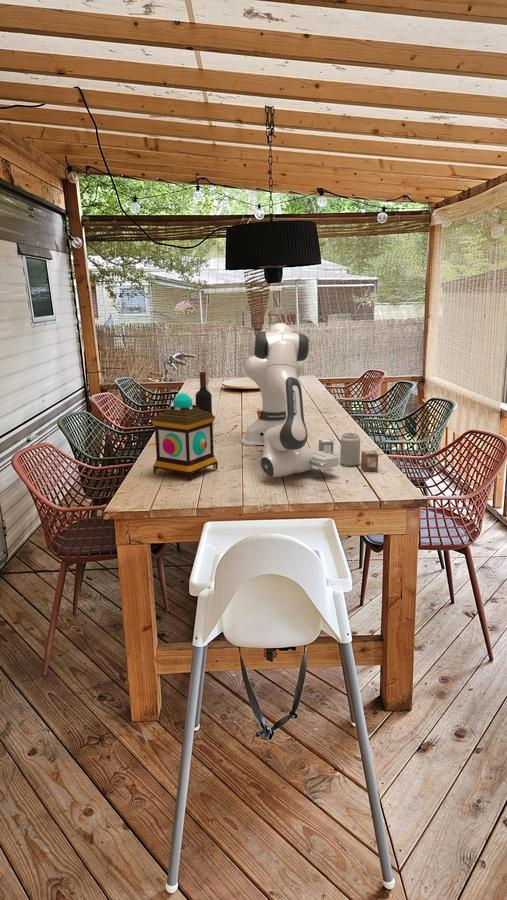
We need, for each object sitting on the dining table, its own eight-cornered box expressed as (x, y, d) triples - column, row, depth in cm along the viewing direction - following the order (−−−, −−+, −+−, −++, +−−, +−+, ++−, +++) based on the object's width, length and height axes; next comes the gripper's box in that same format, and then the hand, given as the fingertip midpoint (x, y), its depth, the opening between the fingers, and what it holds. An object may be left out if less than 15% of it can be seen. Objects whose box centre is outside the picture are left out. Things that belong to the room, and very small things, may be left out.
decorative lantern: (190, 483, 205) (186, 398, 198) (148, 475, 215) (143, 394, 208) (223, 469, 221) (220, 390, 214) (182, 462, 232) (178, 387, 224)
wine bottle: (194, 436, 277) (191, 372, 269) (201, 432, 284) (199, 371, 276) (208, 437, 274) (206, 373, 266) (215, 433, 281) (213, 371, 273)
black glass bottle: (206, 419, 316) (204, 363, 309) (224, 421, 309) (223, 364, 302) (190, 423, 306) (188, 366, 299) (209, 425, 299) (207, 367, 292)
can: (360, 462, 228) (361, 432, 225) (358, 467, 221) (359, 436, 218) (341, 461, 230) (342, 431, 227) (338, 466, 223) (339, 435, 220)
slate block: (320, 459, 233) (321, 442, 231) (318, 456, 238) (318, 439, 236) (333, 459, 233) (333, 442, 231) (330, 455, 238) (331, 439, 236)
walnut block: (364, 473, 214) (365, 454, 212) (360, 469, 219) (361, 450, 217) (377, 472, 214) (378, 453, 212) (374, 468, 219) (374, 450, 217)
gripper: (320, 456, 202) (350, 450, 209) (285, 445, 218) (313, 440, 226) (320, 474, 203) (349, 467, 211) (285, 462, 220) (313, 456, 227)
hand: (330, 453), depth 218 cm, fingers closed
